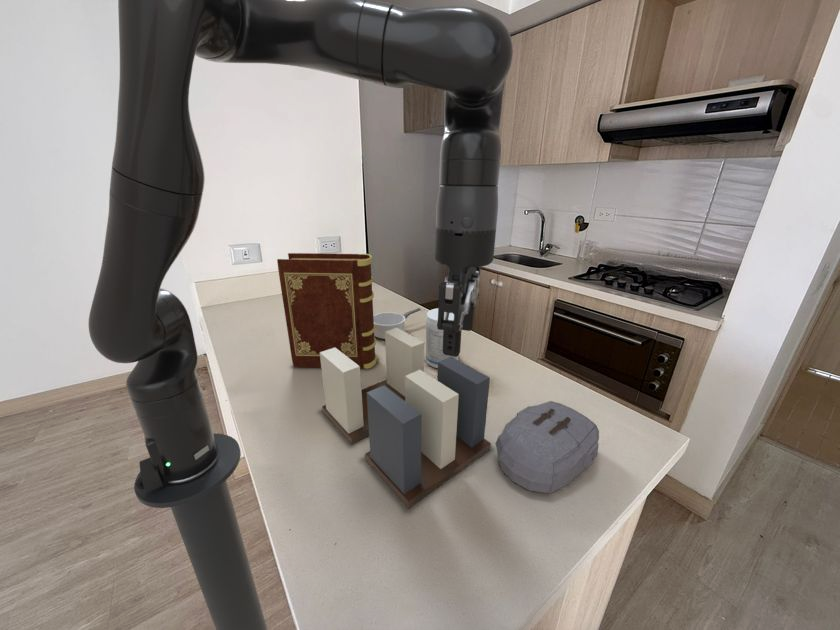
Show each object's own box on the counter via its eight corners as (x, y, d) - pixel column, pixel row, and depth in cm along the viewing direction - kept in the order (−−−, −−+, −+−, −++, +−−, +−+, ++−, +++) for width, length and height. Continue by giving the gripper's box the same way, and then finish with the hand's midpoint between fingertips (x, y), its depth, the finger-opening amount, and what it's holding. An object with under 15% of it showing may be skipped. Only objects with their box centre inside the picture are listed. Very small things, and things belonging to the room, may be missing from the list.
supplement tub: (433, 350, 103) (435, 305, 97) (463, 357, 99) (466, 310, 93) (419, 365, 95) (420, 316, 89) (451, 373, 91) (453, 323, 85)
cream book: (440, 469, 59) (443, 402, 54) (405, 437, 66) (404, 375, 61) (454, 459, 61) (458, 394, 56) (419, 430, 68) (419, 369, 63)
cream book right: (412, 402, 77) (411, 347, 71) (386, 383, 84) (384, 331, 78) (423, 396, 79) (424, 342, 73) (398, 378, 86) (397, 327, 81)
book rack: (408, 508, 54) (408, 501, 53) (322, 411, 76) (321, 406, 75) (490, 449, 66) (491, 443, 65) (395, 380, 88) (395, 375, 87)
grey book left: (404, 494, 54) (403, 423, 49) (370, 457, 61) (366, 392, 56) (420, 483, 56) (421, 413, 51) (386, 448, 63) (384, 384, 58)
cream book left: (348, 433, 67) (343, 372, 62) (326, 409, 74) (319, 352, 69) (363, 426, 69) (359, 366, 64) (340, 402, 76) (335, 347, 71)
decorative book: (378, 355, 100) (374, 253, 89) (374, 369, 93) (369, 260, 81) (302, 353, 100) (288, 252, 89) (292, 367, 93) (276, 259, 82)
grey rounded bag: (537, 416, 75) (476, 460, 63) (542, 383, 72) (479, 423, 60) (608, 456, 64) (550, 519, 52) (618, 420, 61) (558, 478, 49)
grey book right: (471, 447, 64) (477, 384, 59) (435, 420, 71) (437, 361, 66) (484, 439, 66) (490, 377, 61) (448, 413, 73) (450, 356, 68)
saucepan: (430, 327, 119) (431, 312, 117) (385, 344, 106) (384, 328, 104) (409, 318, 127) (409, 304, 124) (364, 333, 114) (363, 317, 112)
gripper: (450, 217, 50) (446, 319, 56) (418, 229, 37) (416, 359, 43) (503, 219, 48) (492, 326, 54) (486, 234, 35) (475, 370, 41)
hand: (458, 341), depth 48 cm, fingers open, 8 cm apart
